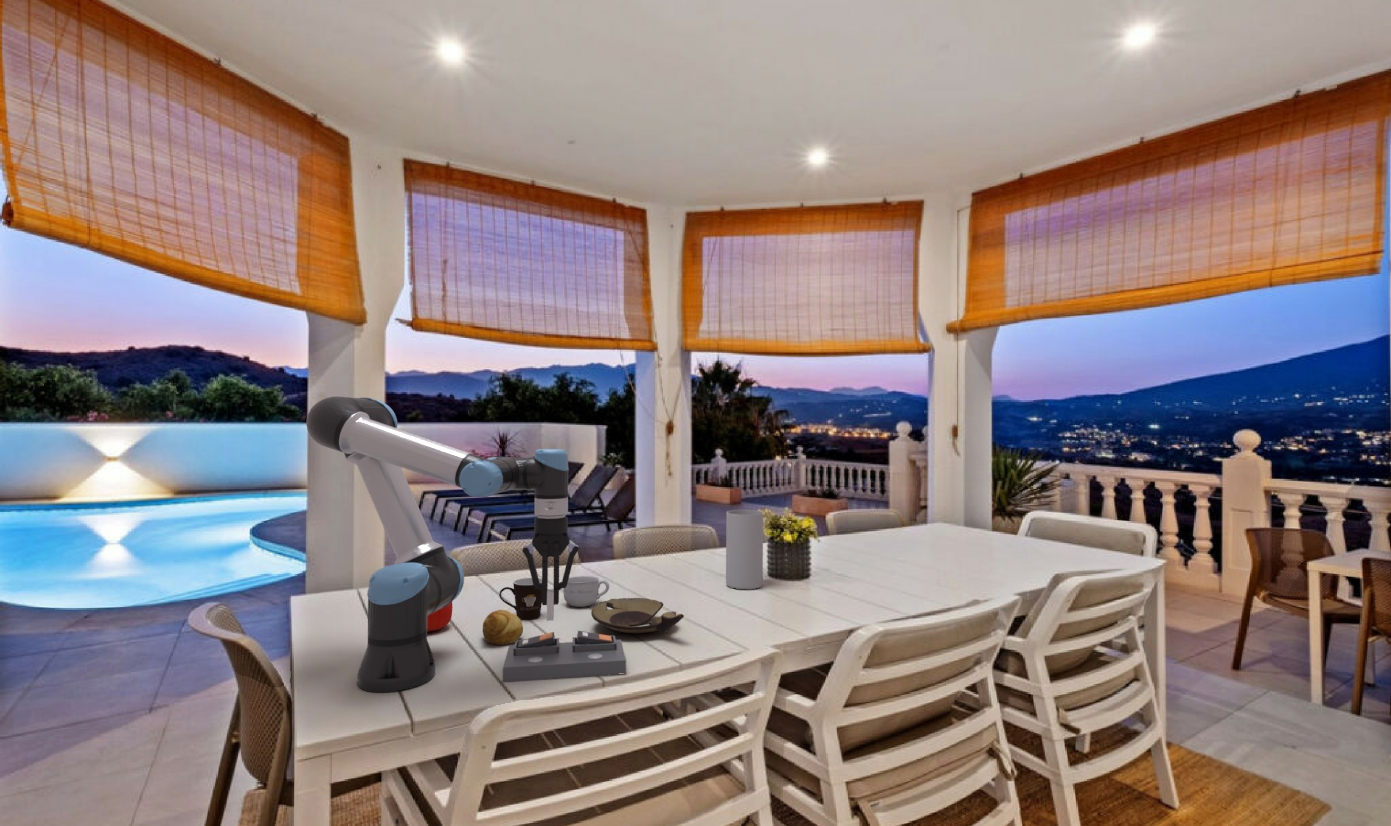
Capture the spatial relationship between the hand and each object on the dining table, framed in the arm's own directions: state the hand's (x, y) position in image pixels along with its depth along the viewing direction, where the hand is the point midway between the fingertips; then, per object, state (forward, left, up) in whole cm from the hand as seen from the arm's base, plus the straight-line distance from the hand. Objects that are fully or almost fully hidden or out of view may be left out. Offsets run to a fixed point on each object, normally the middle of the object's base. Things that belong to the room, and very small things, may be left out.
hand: (550, 618), depth 150 cm
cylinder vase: (+88, -1, -10) cm, 89 cm away
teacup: (+39, +26, -10) cm, 49 cm away
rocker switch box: (0, -5, -10) cm, 11 cm away
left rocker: (-2, +2, -6) cm, 6 cm away
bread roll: (+4, +22, -10) cm, 25 cm away
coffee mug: (+20, +32, -10) cm, 40 cm away
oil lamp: (+29, -2, -10) cm, 31 cm away
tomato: (-3, +44, -10) cm, 46 cm away
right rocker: (+7, -7, -6) cm, 12 cm away
